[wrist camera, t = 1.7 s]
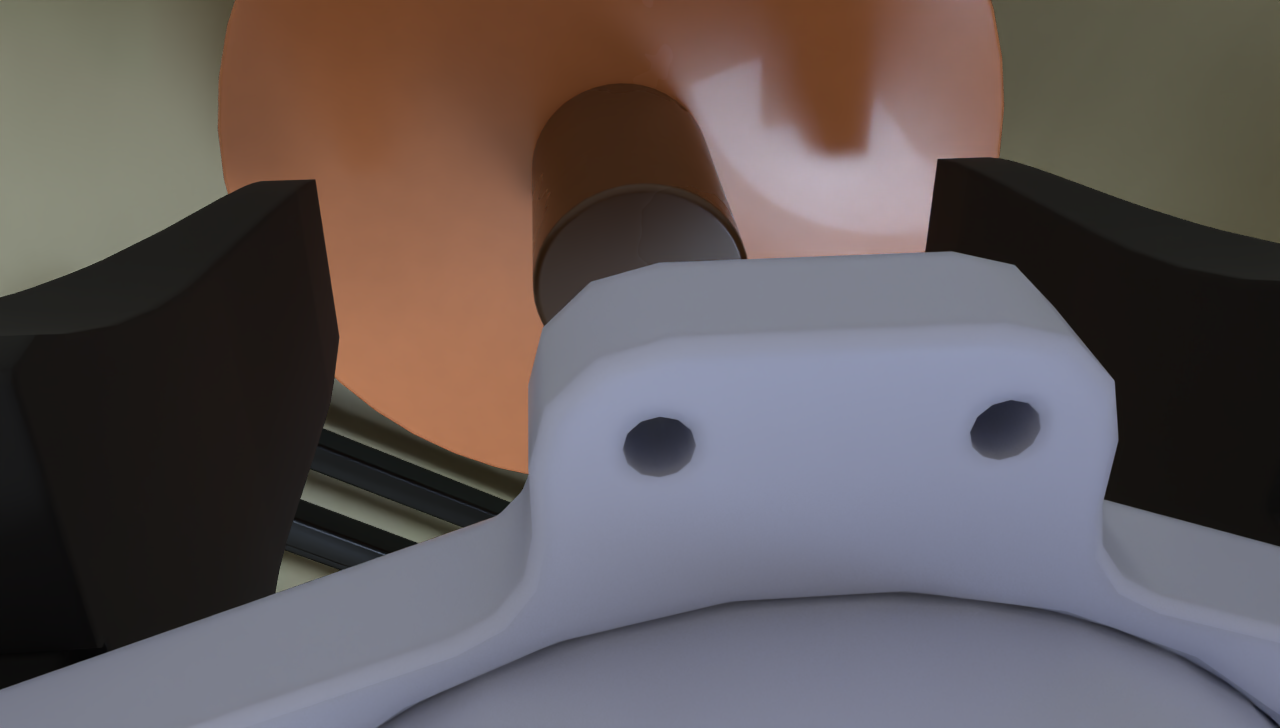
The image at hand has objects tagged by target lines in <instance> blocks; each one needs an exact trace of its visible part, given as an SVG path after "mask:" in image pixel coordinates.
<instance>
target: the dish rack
mask: <svg viewBox="0 0 1280 728" xmlns="http://www.w3.org/2000/svg"><path fill="white" fill-rule="evenodd" d="M310 469H311V470H314V471H317V472H319V473H322V474H324V475H327V476H330V477H332V478H335V479H338V480H340V481H343V482H345V483H348V484H351V485H353V486H356V487H358V488H361V489H364V490H366V491H369V492H371V493H374V494H377V495H379V496H382V497H385V498H387V499H390V500H392V501H395V502H398V503H400V504H403V505H405V506H408V507H411V508H413V509H416V510H419V511H421V512H424V513H426V514H429V515H432V516H434V517H437V518H439V519H442V520H445V521H447V522H450V523H452V524H455V525H458V526H460V527H463V528H464V527H467V526H469V525H472V524H475V523H478V522H481V521H484V520H487V519H489V518H492V517H495V516H497V515H498V514H500V513H501V512H502V511H503V510H504V509H505V508H506V507H507V506H508V505H509V504H510V503H511V502H508V501H506V500H503V499H500V498H498V497H495V496H493V495H490V494H488V493H485V492H483V491H480V490H478V489H475V488H473V487H470V486H468V485H465V484H463V483H460V482H457V481H455V480H452V479H450V478H447V477H445V476H442V475H440V474H437V473H435V472H432V471H430V470H427V469H425V468H422V467H420V466H417V465H415V464H412V463H409V462H407V461H404V460H402V459H399V458H397V457H394V456H392V455H389V454H387V453H384V452H382V451H379V450H377V449H374V448H372V447H369V446H367V445H364V444H361V443H359V442H356V441H354V440H351V439H349V438H346V437H344V436H341V435H339V434H336V433H334V432H331V431H329V430H326V429H324V428H323V429H322V432H321V435H320V439H319V442H318V445H317V448H316V452H315V455H314V458H313V461H312V464H311V467H310ZM415 544H418V543H416V542H414V541H411V540H408V539H406V538H403V537H400V536H398V535H395V534H392V533H390V532H387V531H384V530H382V529H379V528H376V527H374V526H371V525H368V524H365V523H363V522H360V521H357V520H355V519H352V518H349V517H347V516H344V515H341V514H339V513H336V512H333V511H331V510H328V509H325V508H323V507H320V506H317V505H315V504H312V503H309V502H307V501H304V500H301V499H300V501H299V504H298V508H297V511H296V514H295V517H294V520H293V523H292V526H291V529H290V532H289V536H288V539H287V542H286V546H285V550H286V551H289V552H292V553H294V554H297V555H300V556H303V557H306V558H308V559H311V560H314V561H317V562H320V563H322V564H325V565H328V566H331V567H334V568H336V569H339V570H344V569H347V568H350V567H352V566H355V565H358V564H361V563H364V562H367V561H370V560H372V559H375V558H378V557H381V556H384V555H387V554H389V553H392V552H395V551H398V550H401V549H404V548H407V547H409V546H412V545H415Z"/></svg>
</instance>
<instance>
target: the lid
mask: <svg viewBox="0 0 1280 728" xmlns="http://www.w3.org/2000/svg"><path fill="white" fill-rule="evenodd" d="M1003 113H1004V89H1003V64H1002V53H1001V47H1000V42H999V36H998V31H997V25H996V19H995V14H994V8H993V5H992V2H991V0H235V2H234V5H233V8H232V11H231V14H230V18H229V21H228V24H227V29H226V35H225V41H224V48H223V54H222V60H221V66H220V72H219V88H218V135H219V143H220V151H221V159H222V167H223V175H224V181H225V185H226V188H227V192H228V194H230V193H232V192H234V191H236V190H238V189H240V188H242V187H244V186H246V185H249V184H251V183H255V182H259V181H276V180H307V179H315V180H316V186H317V193H318V199H319V206H320V212H321V219H322V226H323V232H324V239H325V245H326V252H327V258H328V265H329V271H330V278H331V284H332V291H333V298H334V304H335V311H336V317H337V324H338V330H339V337H340V338H339V346H338V354H337V362H336V370H335V378H336V379H337V380H338V381H339V382H340V383H341V384H343V385H344V386H345V387H346V388H348V389H349V390H350V391H352V392H353V393H354V394H355V395H357V396H358V397H359V398H360V399H362V400H363V401H364V402H365V403H367V404H368V405H369V406H370V407H372V408H373V409H374V410H375V411H377V412H379V413H380V414H382V415H384V416H385V417H387V418H388V419H390V420H392V421H393V422H395V423H396V424H398V425H400V426H401V427H403V428H404V429H406V430H408V431H409V432H411V433H413V434H415V435H417V436H419V437H421V438H423V439H425V440H427V441H429V442H431V443H434V444H436V445H438V446H440V447H442V448H444V449H446V450H448V451H451V452H453V453H455V454H458V455H461V456H464V457H467V458H470V459H473V460H476V461H479V462H482V463H485V464H488V465H491V466H494V467H498V468H502V469H507V470H511V471H516V472H520V473H525V474H529V473H528V384H529V380H530V376H531V372H532V368H533V364H534V360H535V356H536V352H537V348H538V344H539V340H540V336H541V332H542V329H543V327H544V326H545V325H546V324H547V323H548V322H549V321H550V320H551V319H552V318H553V317H554V316H555V315H556V314H557V313H559V312H560V311H561V310H562V309H563V308H564V307H565V306H566V305H567V304H568V303H569V302H570V301H571V300H572V299H573V298H574V297H575V296H576V295H577V294H578V293H579V292H580V291H582V290H583V289H584V288H585V287H586V286H587V285H588V284H589V283H590V282H592V281H595V280H599V279H602V278H606V277H609V276H613V275H617V274H620V273H624V272H627V271H631V270H634V269H638V268H641V267H645V266H649V265H652V264H656V263H663V262H689V261H715V260H741V259H767V258H793V257H819V256H845V255H871V254H897V253H923V252H925V249H926V241H927V234H928V226H929V219H930V211H931V204H932V197H933V189H934V182H935V174H936V167H937V159H947V158H977V157H992V158H999V155H1000V145H1001V135H1002V124H1003Z"/></svg>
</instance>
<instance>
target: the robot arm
mask: <svg viewBox="0 0 1280 728" xmlns="http://www.w3.org/2000/svg"><path fill="white" fill-rule="evenodd" d="M339 338H340V337H339V330H338V324H337V317H336V311H335V304H334V298H333V291H332V284H331V278H330V271H329V265H328V258H327V252H326V245H325V239H324V232H323V226H322V219H321V212H320V206H319V199H318V193H317V186H316V180H315V179H307V180H276V181H259V182H255V183H251V184H249V185H246V186H244V187H242V188H240V189H238V190H236V191H234V192H232V193H230V194H228V195H226V196H224V197H222V198H220V199H218V200H217V201H215V202H213V203H211V204H209V205H208V206H206V207H204V208H202V209H200V210H199V211H197V212H195V213H193V214H191V215H190V216H188V217H186V218H184V219H182V220H181V221H179V222H177V223H175V224H173V225H171V226H170V227H168V228H166V229H164V230H162V231H160V232H158V233H156V234H154V235H152V236H150V237H148V238H146V239H144V240H142V241H140V242H138V243H136V244H134V245H132V246H130V247H128V248H126V249H124V250H122V251H120V252H118V253H116V254H114V255H112V256H110V257H108V258H106V259H104V260H102V261H99V262H97V263H95V264H93V265H90V266H88V267H86V268H83V269H81V270H78V271H76V272H73V273H71V274H68V275H66V276H63V277H60V278H58V279H55V280H52V281H49V282H47V283H44V284H41V285H38V286H36V287H33V288H30V289H27V290H24V291H21V292H18V293H15V294H11V295H7V296H4V297H0V728H1280V244H1279V243H1274V242H1270V241H1266V240H1261V239H1257V238H1253V237H1248V236H1244V235H1240V234H1235V233H1231V232H1227V231H1222V230H1219V229H1215V228H1211V227H1207V226H1204V225H1200V224H1197V223H1193V222H1190V221H1187V220H1183V219H1180V218H1177V217H1174V216H1171V215H1167V214H1164V213H1161V212H1158V211H1155V210H1151V209H1148V208H1145V207H1143V206H1140V205H1137V204H1134V203H1131V202H1128V201H1125V200H1122V199H1119V198H1117V197H1114V196H1111V195H1108V194H1106V193H1103V192H1100V191H1097V190H1095V189H1092V188H1089V187H1086V186H1084V185H1081V184H1078V183H1076V182H1073V181H1070V180H1067V179H1065V178H1062V177H1059V176H1056V175H1054V174H1051V173H1048V172H1045V171H1042V170H1039V169H1037V168H1034V167H1030V166H1027V165H1024V164H1021V163H1017V162H1013V161H1010V160H1005V159H1000V158H992V157H977V158H947V159H937V167H936V174H935V182H934V189H933V197H932V204H931V211H930V219H929V226H928V234H927V241H926V249H925V252H923V253H897V254H871V255H845V256H819V257H793V258H767V259H741V260H715V261H689V262H663V263H656V264H652V265H649V266H645V267H641V268H638V269H634V270H631V271H627V272H624V273H620V274H617V275H613V276H609V277H606V278H602V279H599V280H595V281H592V282H590V283H589V284H588V285H587V286H586V287H585V288H584V289H583V290H582V291H580V292H579V293H578V294H577V295H576V296H575V297H574V298H573V299H572V300H571V301H570V302H569V303H568V304H567V305H566V306H565V307H564V308H563V309H562V310H561V311H560V312H559V313H557V314H556V315H555V316H554V317H553V318H552V319H551V320H550V321H549V322H548V323H547V324H546V325H545V326H544V327H543V329H542V332H541V336H540V340H539V344H538V348H537V352H536V356H535V360H534V364H533V368H532V372H531V376H530V380H529V384H528V473H529V475H528V478H527V480H526V482H525V485H524V487H523V490H522V491H521V493H520V494H519V495H518V496H517V497H516V498H515V499H514V500H513V501H512V502H511V503H510V504H509V505H508V506H507V507H506V508H505V509H504V510H503V511H502V512H501V513H500V514H498V515H497V516H495V517H492V518H489V519H487V520H484V521H481V522H478V523H475V524H472V525H469V526H467V527H464V528H461V529H458V530H455V531H452V532H449V533H447V534H444V535H441V536H438V537H435V538H432V539H429V540H427V541H424V542H421V543H418V544H415V545H412V546H409V547H407V548H404V549H401V550H398V551H395V552H392V553H389V554H387V555H384V556H381V557H378V558H375V559H372V560H370V561H367V562H364V563H361V564H358V565H355V566H352V567H350V568H347V569H344V570H341V571H338V572H335V573H332V574H330V575H327V576H324V577H321V578H318V579H315V580H312V581H310V582H307V583H304V584H301V585H298V586H295V587H292V588H290V589H287V590H284V591H281V592H278V593H275V591H276V586H277V580H278V574H279V569H280V566H281V562H282V558H283V554H284V550H285V546H286V542H287V539H288V536H289V532H290V529H291V526H292V523H293V520H294V517H295V514H296V511H297V508H298V504H299V501H300V498H301V495H302V492H303V489H304V486H305V483H306V479H307V476H308V473H309V470H310V467H311V464H312V461H313V458H314V455H315V452H316V448H317V445H318V442H319V439H320V435H321V432H322V429H323V426H324V423H325V419H326V416H327V413H328V409H329V406H330V402H331V396H332V390H333V383H334V377H335V370H336V362H337V354H338V346H339Z"/></svg>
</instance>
